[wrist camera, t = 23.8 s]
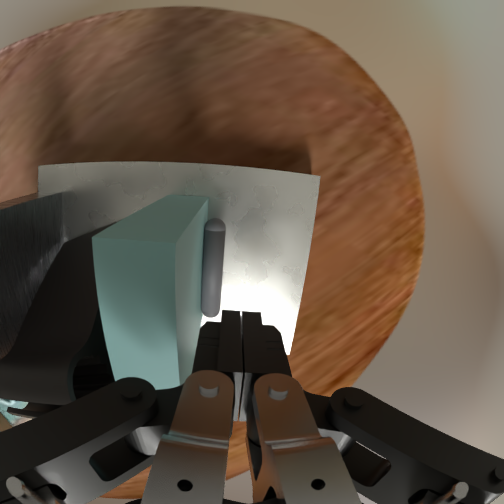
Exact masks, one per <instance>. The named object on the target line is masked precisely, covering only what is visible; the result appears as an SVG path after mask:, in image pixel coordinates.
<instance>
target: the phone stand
mask: <svg viewBox="0 0 504 504" xmlns="http://www.w3.org/2000/svg"><path fill="white" fill-rule="evenodd" d="M116 223H117V222H116ZM113 224H115V223H113ZM113 224H110V225H108V226H105V227H102V228H100V229H97V230H94V231H92V232H89V233H87V234H84V235H81V236H79V237H76V238H74V239H71V240H69V241H67V242H64V244H63V245H62V247H61V249H60V250H59V252H58V254H57V255H56V257H55V259H54V261H53V262H52V264H51V266H50V268H49V270H48V271H47V273H46V275H45V277H44V279H43V281H42V283H41V285H40V287H39V289H38V291H37V293H36V295H35V297H34V299H33V301H32V303H31V305H30V308H29V310H28V312H27V314H26V316H25V319H24V321H23V323H22V326H21V328H20V331H19V333H18V336H17V338H16V341H15V343H14V345H13V347H12V348H11V350H10V351H9V352H8V354H7V355H6V356H4V357H3V358H2V359H0V398H3V399H9V400H16V401H23V402H28V404H27V406H26V407H25V408H23V409H17V408H12V407H8V409H7V412H8V413H10V414H12V415H16V416H21V417H26V418H32V419H34V418H37V417H39V416H41V415H44V414H46V413H48V412H51V411H53V410H55V409H57V408H60V407H62V406H64V405H66V404H68V403H71V402H73V401H75V400H77V399H79V398H81V397H84V396H86V395H88V394H90V393H92V392H94V391H96V390H98V389H100V388H103V387H105V386H107V385H109V384H111V383H113V382H115V379H114V375H113V371H112V367H111V363H110V359H109V355H108V350H107V346H106V341H105V336H104V331H103V326H102V320H101V314H100V308H99V302H98V295H97V287H96V279H95V270H94V260H93V247H92V237H93V236H95V235H96V234H98V233H100V232H101V231H103V230H105V229H106V228H108V227H110V226H112V225H113Z"/></svg>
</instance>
